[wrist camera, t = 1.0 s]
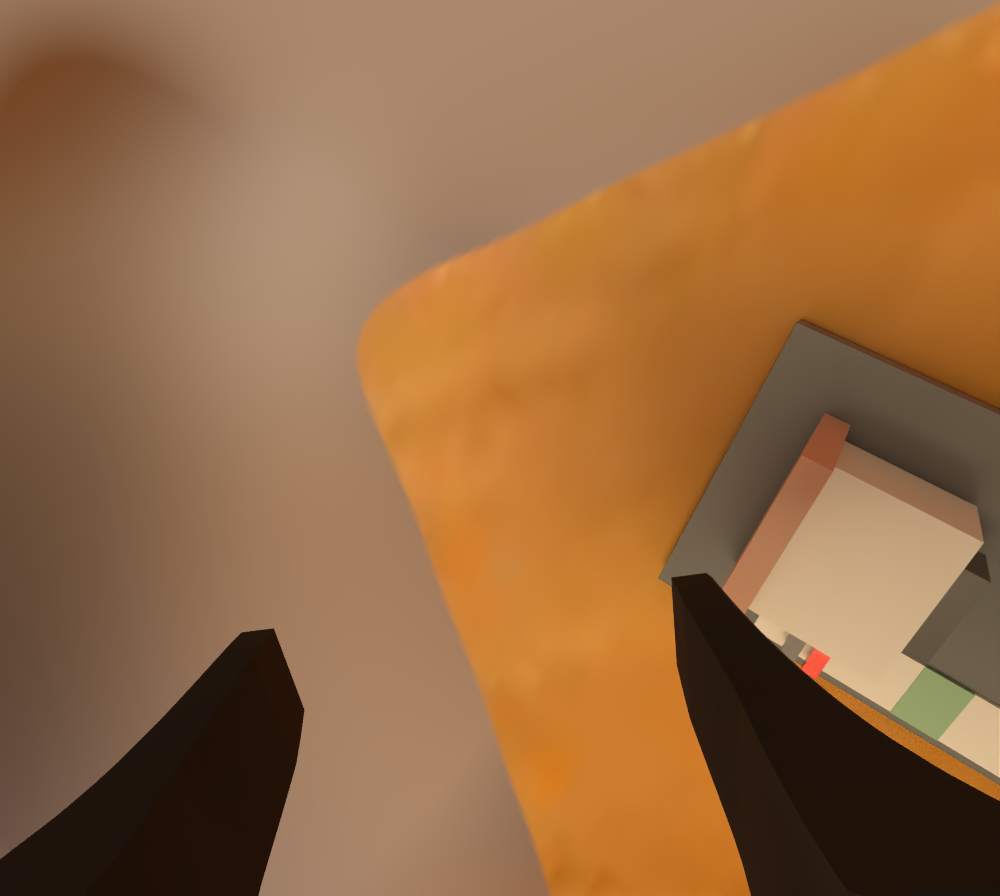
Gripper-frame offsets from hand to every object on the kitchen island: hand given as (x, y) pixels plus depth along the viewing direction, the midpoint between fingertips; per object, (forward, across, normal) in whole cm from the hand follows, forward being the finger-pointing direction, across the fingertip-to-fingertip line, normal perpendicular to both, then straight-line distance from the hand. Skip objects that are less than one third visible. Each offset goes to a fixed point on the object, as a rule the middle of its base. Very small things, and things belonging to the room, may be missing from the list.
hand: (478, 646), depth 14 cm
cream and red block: (+9, -10, +6) cm, 15 cm away
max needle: (+8, -10, +9) cm, 16 cm away
